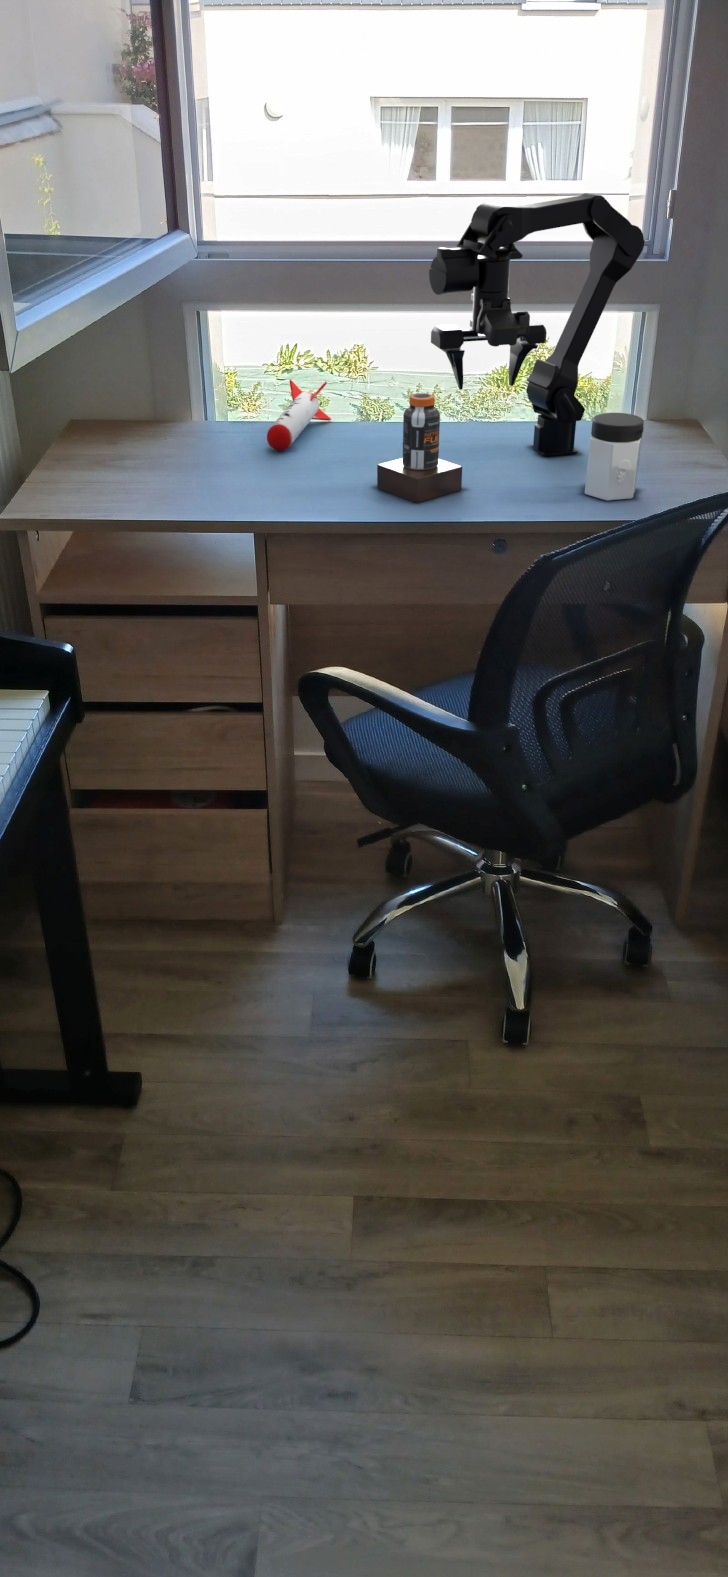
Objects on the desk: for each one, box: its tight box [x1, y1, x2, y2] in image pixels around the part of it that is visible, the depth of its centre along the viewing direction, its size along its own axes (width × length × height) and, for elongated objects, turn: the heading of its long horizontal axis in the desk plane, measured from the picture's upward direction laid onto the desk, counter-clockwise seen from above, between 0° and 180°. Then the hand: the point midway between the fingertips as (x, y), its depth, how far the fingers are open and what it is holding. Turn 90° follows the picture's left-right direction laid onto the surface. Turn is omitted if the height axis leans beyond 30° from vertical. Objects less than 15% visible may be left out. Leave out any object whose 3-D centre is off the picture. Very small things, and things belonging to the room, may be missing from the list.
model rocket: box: [266, 379, 332, 452], centre depth 217 cm, size 11×23×10 cm
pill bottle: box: [402, 392, 441, 470], centre depth 187 cm, size 6×6×11 cm
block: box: [376, 457, 463, 504], centre depth 192 cm, size 10×10×4 cm
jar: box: [584, 412, 645, 502], centre depth 187 cm, size 9×8×12 cm
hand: (485, 386), depth 198 cm, fingers open, 9 cm apart
